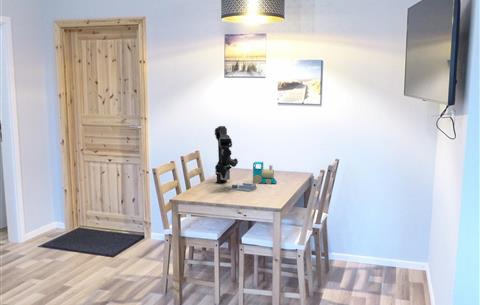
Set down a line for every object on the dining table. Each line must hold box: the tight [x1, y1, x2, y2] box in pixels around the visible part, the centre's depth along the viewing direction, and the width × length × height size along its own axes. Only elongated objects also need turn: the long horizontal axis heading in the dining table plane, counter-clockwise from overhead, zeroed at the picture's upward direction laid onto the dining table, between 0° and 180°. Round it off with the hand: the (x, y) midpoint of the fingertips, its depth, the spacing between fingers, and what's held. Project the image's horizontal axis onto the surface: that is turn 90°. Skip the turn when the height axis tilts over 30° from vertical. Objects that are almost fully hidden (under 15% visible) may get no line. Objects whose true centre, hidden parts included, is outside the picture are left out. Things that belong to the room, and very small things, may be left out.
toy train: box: [252, 161, 278, 185], centre depth 338 cm, size 8×17×15 cm, turn 77°
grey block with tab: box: [221, 169, 231, 181], centre depth 318 cm, size 5×4×7 cm
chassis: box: [229, 182, 257, 193], centre depth 319 cm, size 15×11×3 cm
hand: (225, 177), depth 318 cm, fingers closed on grey block with tab, 4 cm apart
